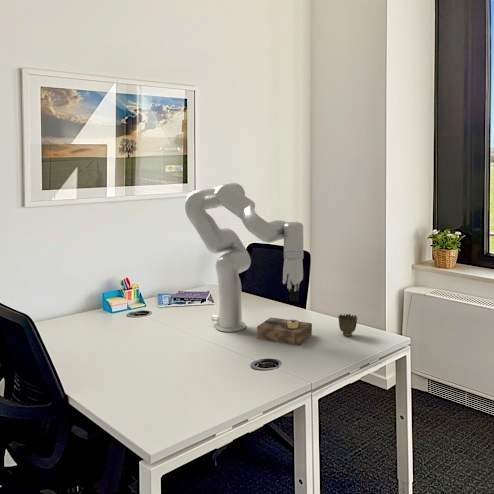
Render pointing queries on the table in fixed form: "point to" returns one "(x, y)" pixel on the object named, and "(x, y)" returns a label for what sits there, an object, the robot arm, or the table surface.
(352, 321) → the cup
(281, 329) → the jig
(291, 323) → the cylinder
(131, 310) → the table surface
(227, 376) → the table surface
